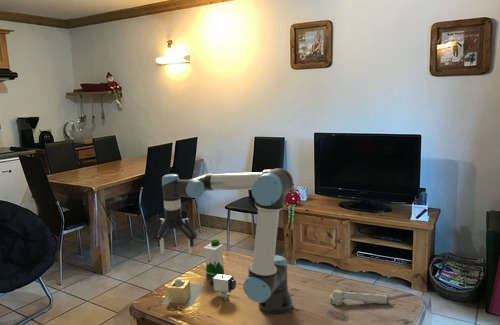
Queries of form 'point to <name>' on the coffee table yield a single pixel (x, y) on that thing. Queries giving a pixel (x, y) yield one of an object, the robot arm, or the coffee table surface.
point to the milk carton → (214, 259)
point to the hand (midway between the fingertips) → (176, 253)
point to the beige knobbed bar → (357, 297)
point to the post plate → (194, 290)
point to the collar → (179, 292)
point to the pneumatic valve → (223, 285)
